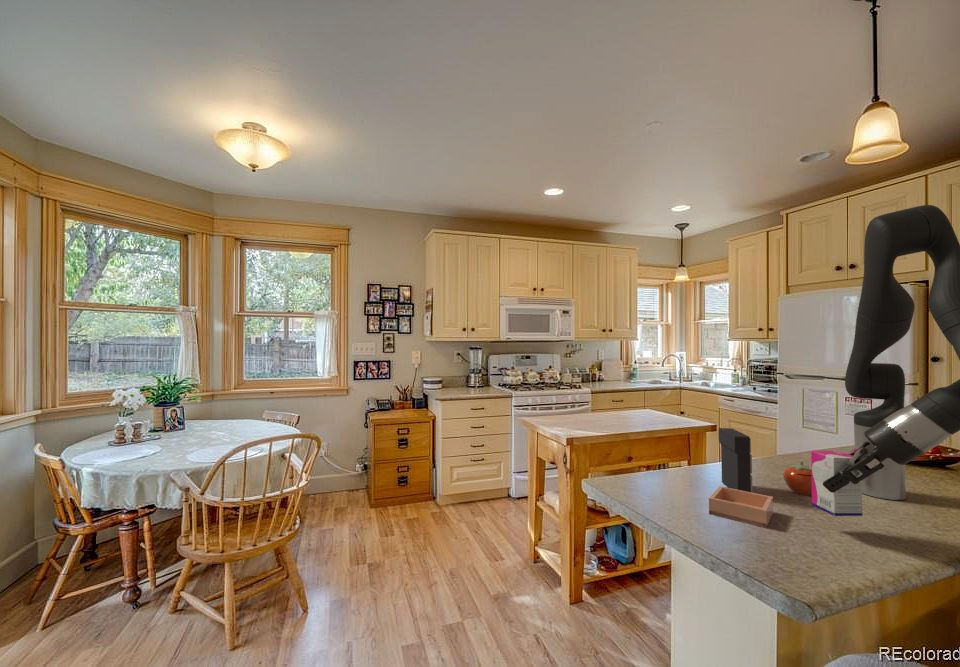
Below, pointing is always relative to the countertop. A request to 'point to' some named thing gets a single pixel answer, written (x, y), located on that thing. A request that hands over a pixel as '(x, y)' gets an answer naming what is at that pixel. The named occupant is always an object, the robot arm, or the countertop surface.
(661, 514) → the countertop surface
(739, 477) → the calculator
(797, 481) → the tomato
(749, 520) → the dish
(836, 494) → the supplement box
